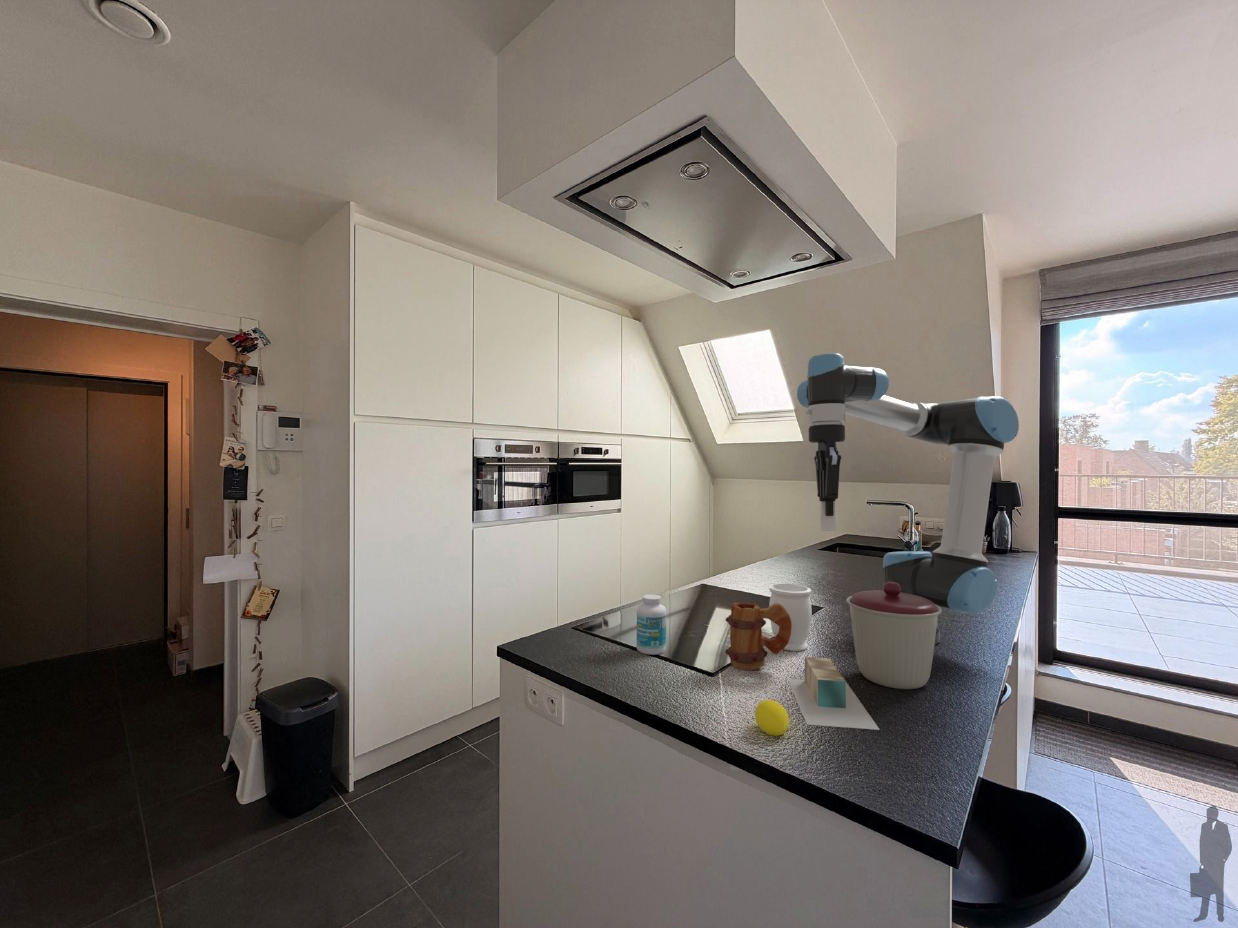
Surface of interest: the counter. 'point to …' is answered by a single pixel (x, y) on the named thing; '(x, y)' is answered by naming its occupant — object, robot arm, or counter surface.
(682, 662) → the counter surface
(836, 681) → the block
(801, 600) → the jar
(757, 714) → the lemon
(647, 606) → the pill bottle
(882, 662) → the canister
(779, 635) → the mug
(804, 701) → the mat
